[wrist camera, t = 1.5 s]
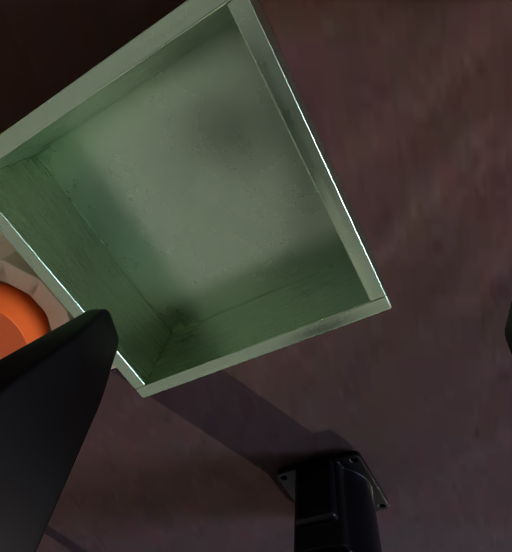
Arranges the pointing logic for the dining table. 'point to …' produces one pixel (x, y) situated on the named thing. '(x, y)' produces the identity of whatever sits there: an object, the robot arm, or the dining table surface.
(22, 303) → the button
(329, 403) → the dining table surface
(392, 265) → the dining table surface
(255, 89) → the warming box
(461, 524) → the dining table surface
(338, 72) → the dining table surface
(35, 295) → the control block
